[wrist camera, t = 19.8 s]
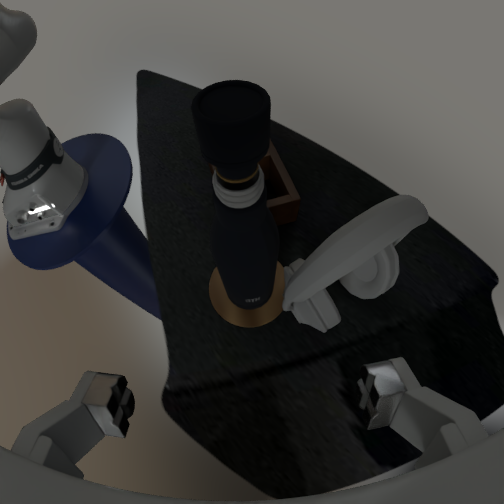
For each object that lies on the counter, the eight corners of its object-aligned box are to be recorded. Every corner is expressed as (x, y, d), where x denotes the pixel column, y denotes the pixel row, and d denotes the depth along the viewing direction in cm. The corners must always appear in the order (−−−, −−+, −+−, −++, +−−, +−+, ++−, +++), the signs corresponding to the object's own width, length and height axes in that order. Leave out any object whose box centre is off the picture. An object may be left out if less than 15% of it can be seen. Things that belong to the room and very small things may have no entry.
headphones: (364, 234, 44) (417, 146, 25) (398, 282, 40) (475, 215, 22) (258, 294, 40) (258, 221, 22) (293, 352, 37) (327, 328, 19)
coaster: (222, 337, 38) (222, 337, 38) (200, 264, 42) (200, 263, 42) (301, 312, 39) (301, 311, 39) (273, 241, 43) (273, 240, 43)
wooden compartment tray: (233, 239, 44) (229, 219, 38) (204, 151, 51) (199, 128, 45) (296, 220, 45) (300, 198, 39) (256, 138, 52) (256, 114, 46)
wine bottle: (249, 256, 42) (234, 57, 15) (283, 286, 40) (324, 100, 13) (216, 287, 40) (141, 108, 13) (249, 319, 38) (225, 169, 11)
